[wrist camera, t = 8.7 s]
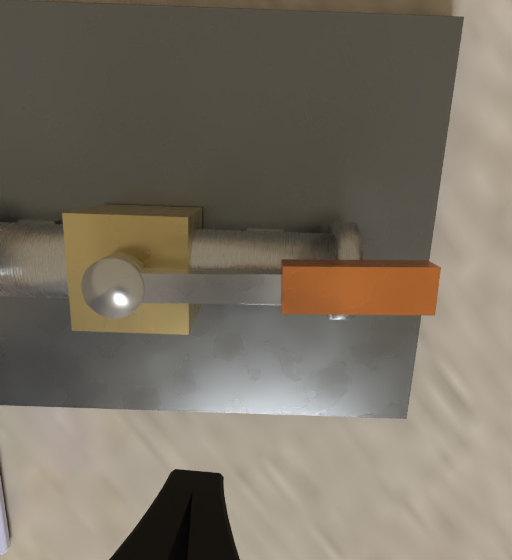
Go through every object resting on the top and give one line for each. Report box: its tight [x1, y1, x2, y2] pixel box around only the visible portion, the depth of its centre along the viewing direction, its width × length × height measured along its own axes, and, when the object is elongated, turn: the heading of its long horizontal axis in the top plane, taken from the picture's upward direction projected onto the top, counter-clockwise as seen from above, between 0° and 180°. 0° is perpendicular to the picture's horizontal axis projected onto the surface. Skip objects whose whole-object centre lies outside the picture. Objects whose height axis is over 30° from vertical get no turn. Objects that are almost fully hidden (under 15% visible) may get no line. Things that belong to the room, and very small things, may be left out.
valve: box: [0, 0, 464, 419], centre depth 17 cm, size 21×18×6 cm
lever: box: [81, 253, 441, 318], centre depth 14 cm, size 12×2×1 cm, turn 90°
